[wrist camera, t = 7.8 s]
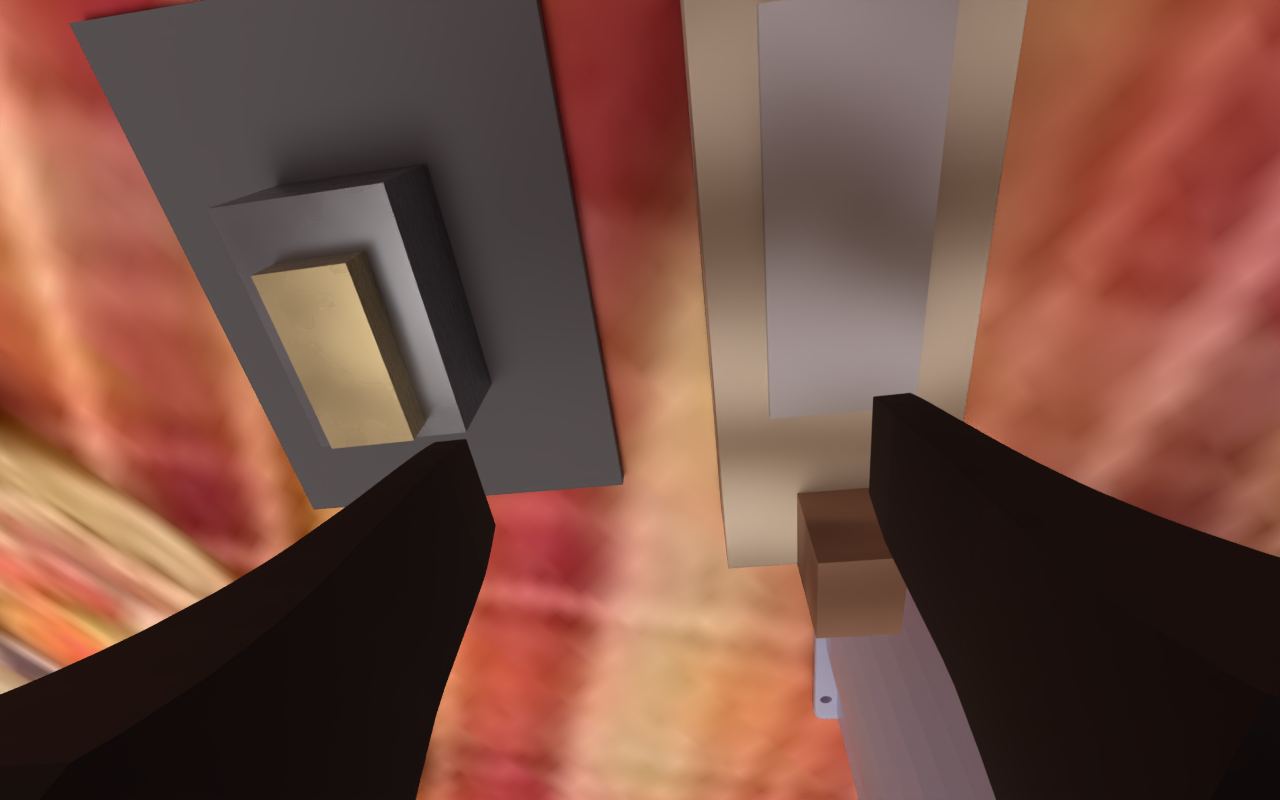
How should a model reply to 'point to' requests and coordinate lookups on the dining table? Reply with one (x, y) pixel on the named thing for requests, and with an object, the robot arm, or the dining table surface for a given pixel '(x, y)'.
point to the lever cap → (361, 303)
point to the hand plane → (839, 257)
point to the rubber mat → (375, 140)
